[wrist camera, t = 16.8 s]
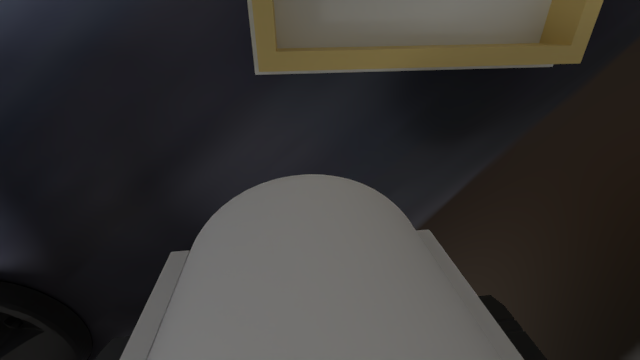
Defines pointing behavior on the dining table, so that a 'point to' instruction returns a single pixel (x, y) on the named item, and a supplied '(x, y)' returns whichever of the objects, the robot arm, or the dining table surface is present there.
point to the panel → (417, 34)
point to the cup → (315, 282)
